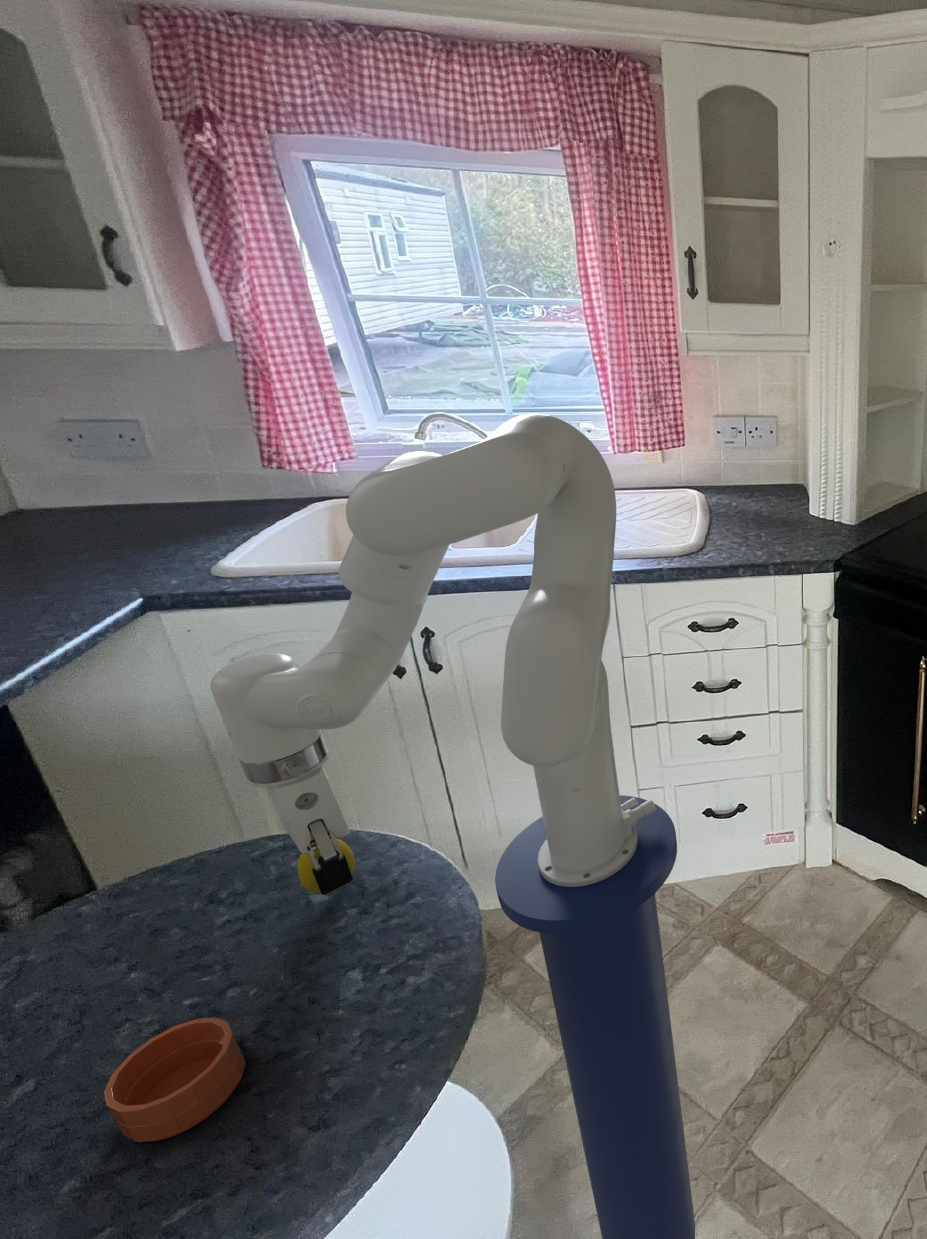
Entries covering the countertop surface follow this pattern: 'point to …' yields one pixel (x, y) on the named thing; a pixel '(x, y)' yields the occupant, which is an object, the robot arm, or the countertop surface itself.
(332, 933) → the countertop surface
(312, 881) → the lemon
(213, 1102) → the bowl
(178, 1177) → the countertop surface
